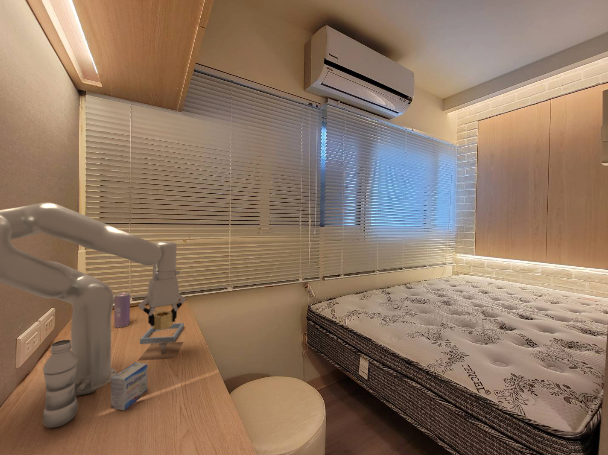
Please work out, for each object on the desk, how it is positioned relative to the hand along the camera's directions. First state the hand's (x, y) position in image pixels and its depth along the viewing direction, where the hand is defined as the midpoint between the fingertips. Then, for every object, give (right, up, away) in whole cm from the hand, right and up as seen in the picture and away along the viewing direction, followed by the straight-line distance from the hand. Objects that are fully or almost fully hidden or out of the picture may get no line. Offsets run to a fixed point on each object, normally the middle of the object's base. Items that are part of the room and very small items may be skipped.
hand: (162, 322), depth 96 cm
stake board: (-2, -13, +2) cm, 13 cm away
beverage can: (-33, -11, +26) cm, 44 cm away
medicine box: (+3, -14, -23) cm, 27 cm away
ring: (-1, -1, +2) cm, 2 cm away
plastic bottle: (-8, -13, -31) cm, 35 cm away
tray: (-8, -12, +15) cm, 21 cm away
